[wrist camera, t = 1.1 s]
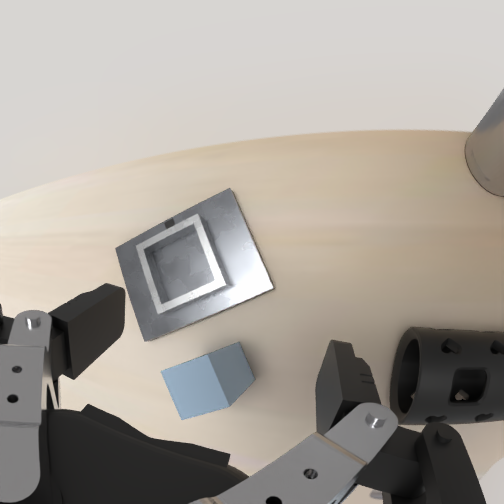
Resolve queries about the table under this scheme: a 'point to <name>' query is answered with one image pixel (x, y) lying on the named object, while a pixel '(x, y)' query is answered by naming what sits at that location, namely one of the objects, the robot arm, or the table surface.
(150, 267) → the grey metal socket plate
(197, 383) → the peg
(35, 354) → the robot arm
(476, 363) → the muzzle brake
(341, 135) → the table surface
